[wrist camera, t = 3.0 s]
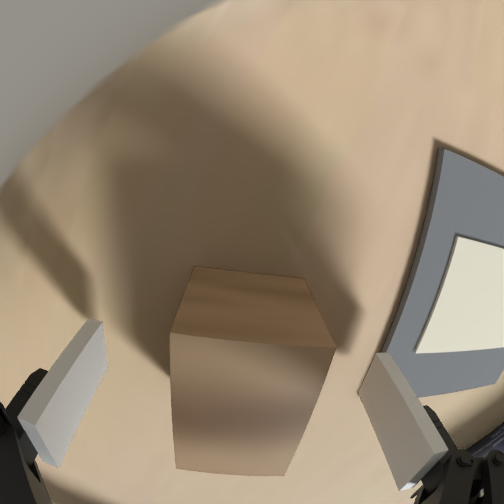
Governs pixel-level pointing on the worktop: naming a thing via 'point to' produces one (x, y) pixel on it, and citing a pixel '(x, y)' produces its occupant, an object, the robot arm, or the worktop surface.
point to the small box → (488, 444)
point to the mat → (455, 285)
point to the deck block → (245, 371)
